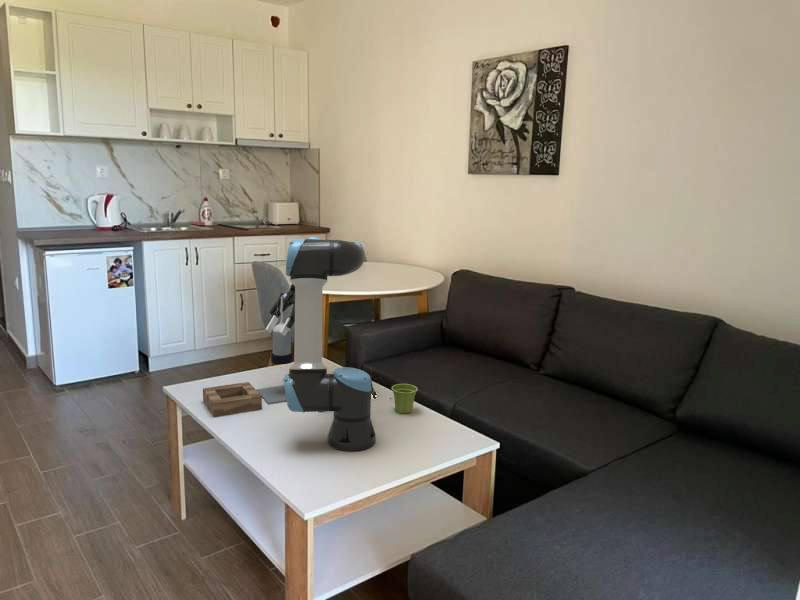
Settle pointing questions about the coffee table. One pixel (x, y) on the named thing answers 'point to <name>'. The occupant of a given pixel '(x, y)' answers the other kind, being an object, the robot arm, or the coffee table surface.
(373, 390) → the eiffel tower figurine
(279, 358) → the humidifier
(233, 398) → the dock
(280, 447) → the coffee table surface
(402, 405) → the plant pot
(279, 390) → the mat
